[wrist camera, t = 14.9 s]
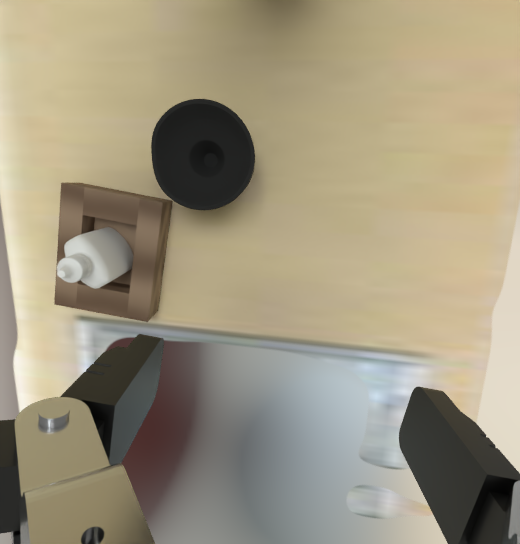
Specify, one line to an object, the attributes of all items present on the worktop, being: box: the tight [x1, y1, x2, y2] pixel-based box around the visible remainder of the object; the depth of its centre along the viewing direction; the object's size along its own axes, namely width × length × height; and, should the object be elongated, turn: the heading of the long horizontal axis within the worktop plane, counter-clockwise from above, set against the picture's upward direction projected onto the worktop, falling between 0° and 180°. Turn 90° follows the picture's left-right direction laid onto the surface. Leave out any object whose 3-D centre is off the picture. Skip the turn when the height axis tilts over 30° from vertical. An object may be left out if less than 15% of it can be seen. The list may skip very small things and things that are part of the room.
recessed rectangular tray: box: [55, 183, 172, 322], centre depth 42 cm, size 14×11×4 cm
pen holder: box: [151, 99, 255, 210], centre depth 37 cm, size 9×9×10 cm
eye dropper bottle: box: [57, 227, 133, 289], centre depth 37 cm, size 4×6×12 cm
